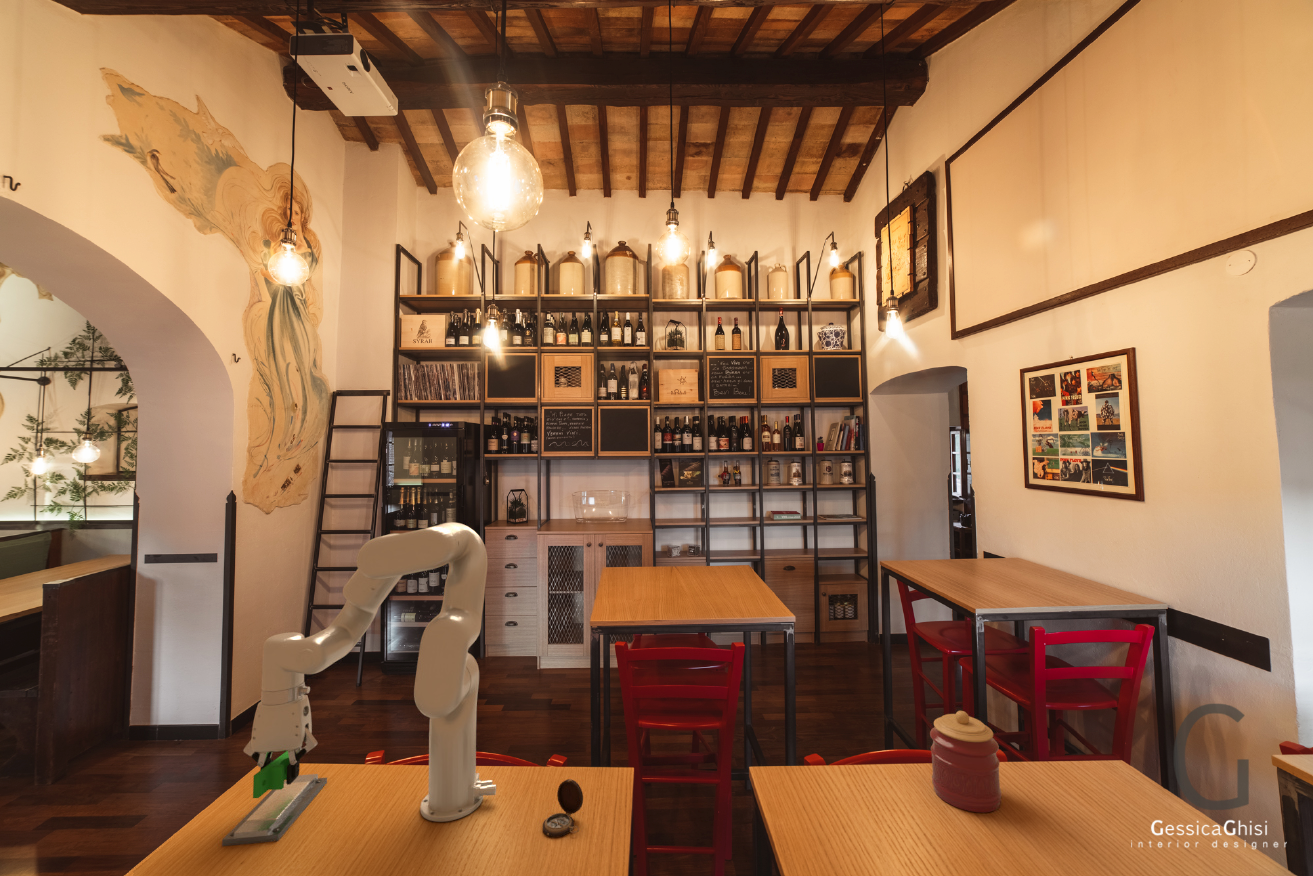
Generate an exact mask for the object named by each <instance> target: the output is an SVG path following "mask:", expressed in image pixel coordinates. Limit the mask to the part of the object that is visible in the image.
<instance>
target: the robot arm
mask: <svg viewBox="0 0 1313 876" xmlns="http://www.w3.org/2000/svg"><path fill="white" fill-rule="evenodd" d="M447 564H448V572H447V576H446V579H445V585H444V590H443V599H442V605H441V609H440V612H439V614H437V615H436V616H434V618H432V620H431V621H429V623H428V624H427V625H426V627H425V629H424V631H423V633H422V636H421V639H420V645H419V651H418V657H417V659H418V660H417V665H416V674H415V678H414V679H415V680H414V686H413V688H414V689H413V696H414V697H413V698H414V702H415V705H416V707H417V709H418V711H420V713H421V715H424V716H425V717H427V718H429V732H428V738H429V739H428V794H426V795H425V797H423V799H422V800H421V802H420V815H421V816H422V817H423V818H424V819H426V820H428V821H430V822H437V823H438V822H439V823H442V822H444V823H445V822H452V821H454V820H459V819H461V818H464V817H465V816H468V815H470V814H471V813H473V812H474V811H475V810H477V809H478V808H479V806H480V805H481V804H482V802H483V799H484V796H496V793H497V784H493V780H492V779H487V780H482V779H480V773H479V772H477V771H476V769H477V767H476V766H477V760H476V759H477V756H476V755H477V747H476V746H477V707H478V706H477V702H478V695H479V694H478V692H479V685H480V684H479V683H480V670H479V665H478V663H477V660H476V659H475V657H474V656H473V655H472V654H471V653H469V652H468V651H469V649H470V648H471V646H472V645H473V644H474V643H475V641H477V639H478V637H479V636H480V633H481V629H482V620H483V619H482V618H483V611H484V602H485V591H486V584H487V583H486V582H487V573H488V554H487V548H486V546H485V544H484V541H483V539H482V538H481V536H480V535H479V534H478V533H477V532H476V531H475V530H474V529H472V528H471V527H469V526H468V525H465V524H463V523H460V522H454V521H453V522H443V523H440V524H438V525H433V526H430V527H426V528H421V529H418V530H412V531H407V532H403V533H389V534H386V535H382V536H377V537H374V538H372V539H370V540H368V541H366V542H365V543H364V544H363V545H362V546H361V548H360V549H359V551H358V553H357V557H356V565H357V566H356V567H357V569H356V571H355V572H354V573H353V575H351V577H350V579H349V580H348V581H347V582H346V583H345V585H344V586H343V588H342V595H343V597H344V599H346V601H345V604H344V605H343V607H342V609H341V610H340V611H339V613H338V614H337V616H336V617H335V618H334V619H333V620H332V622H331V623H330V624H329V625H328V627H326V628H325V629H323V630H320V631H318V632H317V633H314V634H313V635H310V636H307V637H305V635H304V634H302V633H301V632H296V631H295V632H294V631H293V632H283V633H282V632H281V633H278V634H274V635H272V636H269V637H268V638H266V640H265V641H264V643H263V645H262V646H263V647H262V668H261V669H262V671H261V695H260V696H261V697H260V702H258V704H257V707H256V710H255V713H254V719H253V723H252V730H251V739H250V740H249V742H248V743H247V744H246V745H245V747H244V748H243V753H245V754H246V755H248V756H249V757H251V758H252V759H253V761H255V762H256V763H257V767H258V768H260V769H259V771H260V770H262V769H263V768H265V767H266V766H267V765H269V764H270V763H271V762H273V761H274V759H272V755H273V753H275V752H284V751H285V752H286V751H288V755H289V760H290V764H289V765H288V766H287V779H286V780H285V781H286V784H287V785H290V784H291V783H292V782H293V781H294V780H295V779H296V778H297V777H298V775H300V764H301V762H300V760H301V759H302V758H303V756H304V755H305V754H307V753H309V752H310V751H311V750H312V749H314V748H315V747H316V746H317V745H318V741H317V739H316V738H315V737H314V736H313V734H312V729H313V728H312V727H313V725H312V724H313V723H312V712H311V711H312V710H311V705H310V700H309V697H308V695H307V694H309V693H310V691H311V687H310V686H307V685H306V684H305V683H306V682H305V675H314V674H317V673H320V672H322V671H324V670H325V669H327V668H328V667H330V666H331V665H333V664H334V663H335V662H337V661H339V660H341V659H342V658H344V657H345V656H347V655H348V654H349V653H350V652H351V651H352V649H354V647H356V645H357V643H359V641H360V640H361V638H362V637H363V636H364V634H365V633H366V631H367V630H368V629H369V627H370V626H371V624H372V623H373V622H374V619H375V617H376V615H377V613H378V611H379V608H380V606H381V605H382V603H383V602H384V600H386V598H387V597H388V595H389V594H390V593H391V592H392V590H393V589H394V588H395V586H396V585H397V583H398V582H399V581H400V579H401V578H402V577H403V576H406V575H409V574H410V575H411V574H415V573H420V572H425V571H431V570H434V569H437V568H440V567H443V566H446V565H447ZM303 742H304V743H305V744H306V745H305V746H303ZM302 746H303V747H302ZM476 772H477V773H476Z"/></svg>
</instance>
